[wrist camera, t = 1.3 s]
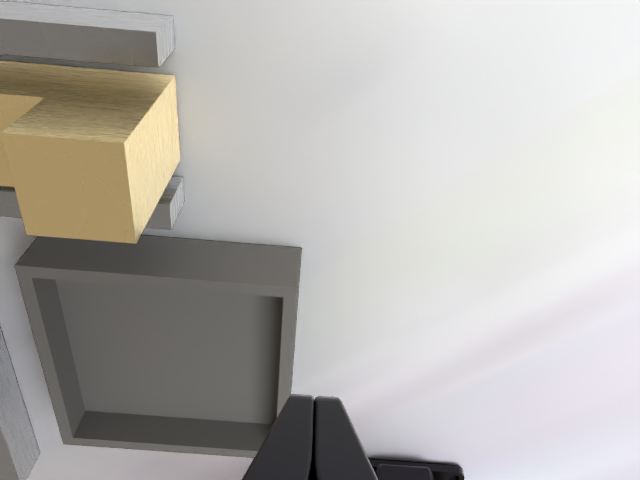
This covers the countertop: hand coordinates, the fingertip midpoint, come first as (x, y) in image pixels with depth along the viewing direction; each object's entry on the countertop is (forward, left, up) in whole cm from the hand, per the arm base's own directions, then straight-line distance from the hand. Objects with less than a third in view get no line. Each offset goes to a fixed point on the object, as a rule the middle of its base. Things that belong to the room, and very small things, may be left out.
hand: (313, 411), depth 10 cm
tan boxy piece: (0, +13, -12) cm, 17 cm away
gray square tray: (-10, +6, -12) cm, 17 cm away
